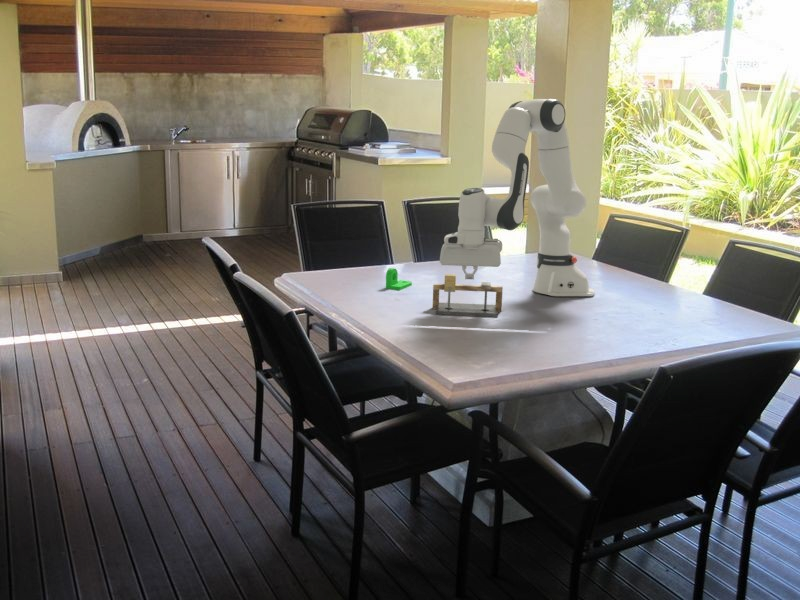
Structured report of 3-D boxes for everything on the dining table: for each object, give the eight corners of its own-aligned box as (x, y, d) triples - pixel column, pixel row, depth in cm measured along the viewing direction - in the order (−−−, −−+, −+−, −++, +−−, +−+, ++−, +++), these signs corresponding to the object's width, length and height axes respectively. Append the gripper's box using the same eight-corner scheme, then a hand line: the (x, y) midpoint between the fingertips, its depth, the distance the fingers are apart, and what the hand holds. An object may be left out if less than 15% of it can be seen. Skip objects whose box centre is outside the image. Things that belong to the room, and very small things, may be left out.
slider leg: (454, 303, 286) (455, 274, 283) (454, 308, 278) (455, 278, 276) (444, 302, 286) (445, 273, 284) (443, 307, 279) (444, 277, 277)
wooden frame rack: (501, 310, 284) (502, 282, 282) (501, 314, 277) (503, 286, 275) (432, 307, 286) (433, 280, 284) (431, 311, 279) (432, 283, 277)
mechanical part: (400, 292, 310) (400, 270, 309) (385, 290, 313) (386, 269, 311) (414, 286, 321) (414, 266, 319) (400, 285, 323) (400, 264, 322)
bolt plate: (496, 308, 286) (496, 304, 286) (497, 317, 274) (497, 313, 273) (437, 305, 288) (437, 302, 288) (435, 314, 275) (435, 310, 275)
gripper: (502, 237, 281) (500, 278, 284) (440, 235, 282) (439, 276, 285) (502, 240, 275) (501, 281, 278) (440, 238, 276) (438, 279, 279)
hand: (469, 279), depth 282 cm, fingers closed
